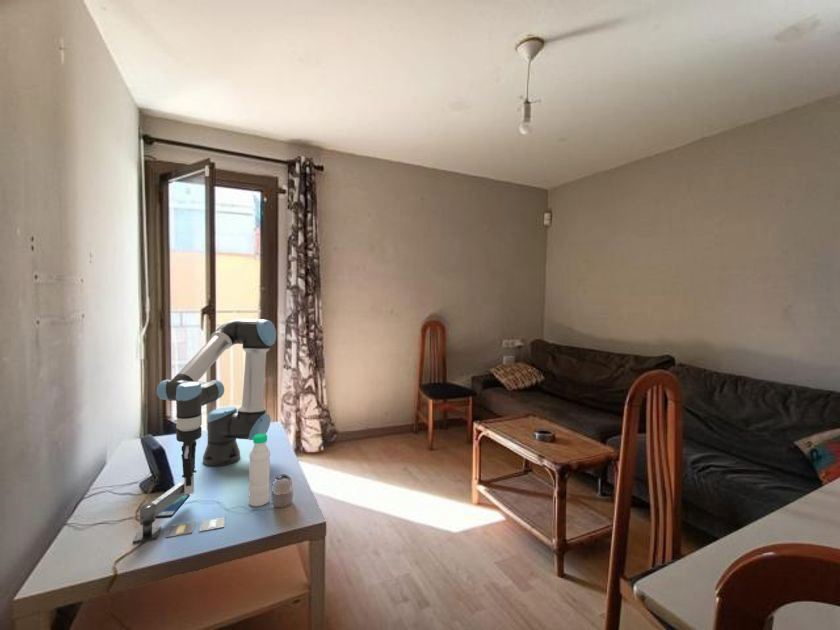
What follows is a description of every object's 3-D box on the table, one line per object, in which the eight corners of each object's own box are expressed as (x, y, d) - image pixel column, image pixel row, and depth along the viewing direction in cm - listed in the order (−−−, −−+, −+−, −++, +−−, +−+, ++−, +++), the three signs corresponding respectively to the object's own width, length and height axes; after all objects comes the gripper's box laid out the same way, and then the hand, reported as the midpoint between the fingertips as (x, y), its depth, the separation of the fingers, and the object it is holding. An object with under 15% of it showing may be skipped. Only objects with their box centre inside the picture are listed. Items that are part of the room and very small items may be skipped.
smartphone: (148, 517, 128) (170, 494, 143) (148, 520, 128) (170, 496, 143) (171, 516, 129) (190, 493, 144) (171, 518, 129) (190, 495, 144)
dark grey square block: (138, 532, 121) (138, 519, 121) (161, 528, 123) (161, 515, 123) (132, 543, 115) (132, 530, 115) (156, 539, 118) (156, 526, 117)
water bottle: (249, 509, 136) (250, 439, 135) (248, 499, 142) (249, 433, 141) (270, 504, 139) (271, 437, 138) (268, 495, 145) (269, 430, 144)
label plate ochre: (170, 526, 124) (170, 525, 124) (195, 522, 127) (195, 521, 127) (166, 537, 118) (166, 536, 118) (192, 533, 121) (192, 532, 121)
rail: (136, 524, 117) (136, 509, 117) (183, 489, 139) (183, 476, 139) (148, 525, 117) (148, 510, 117) (194, 489, 139) (194, 476, 139)
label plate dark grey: (202, 521, 127) (202, 520, 127) (225, 517, 130) (225, 516, 130) (199, 532, 122) (199, 530, 122) (223, 527, 125) (223, 526, 125)
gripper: (180, 422, 138) (180, 485, 139) (172, 435, 126) (172, 504, 127) (203, 420, 141) (204, 482, 142) (198, 432, 129) (198, 500, 130)
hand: (189, 492), depth 135 cm, fingers closed
